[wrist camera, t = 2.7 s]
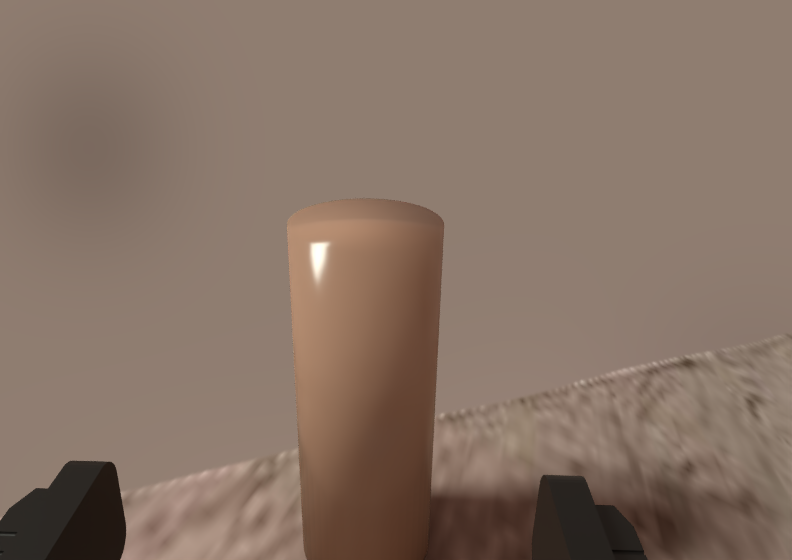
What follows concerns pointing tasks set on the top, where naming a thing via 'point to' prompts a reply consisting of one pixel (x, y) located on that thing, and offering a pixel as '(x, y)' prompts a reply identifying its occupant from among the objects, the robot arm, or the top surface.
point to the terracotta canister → (365, 374)
